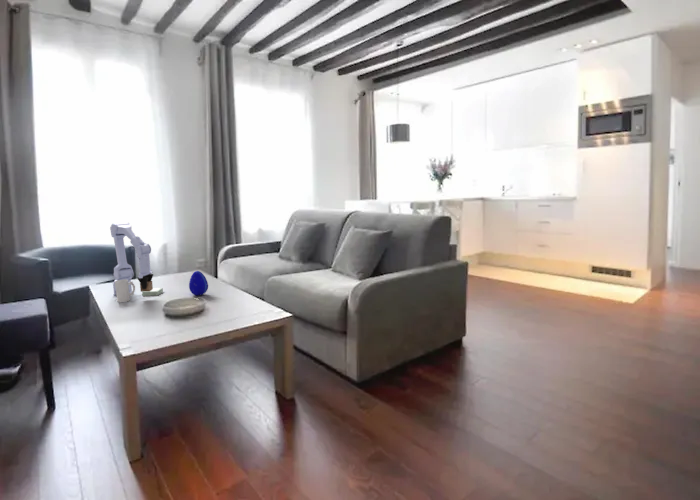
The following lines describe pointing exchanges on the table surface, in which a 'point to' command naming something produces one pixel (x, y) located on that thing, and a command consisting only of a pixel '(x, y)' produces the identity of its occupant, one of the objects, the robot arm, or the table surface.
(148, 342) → the table surface
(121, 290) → the mug
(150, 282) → the walnut cube
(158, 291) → the base plate
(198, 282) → the ornament
